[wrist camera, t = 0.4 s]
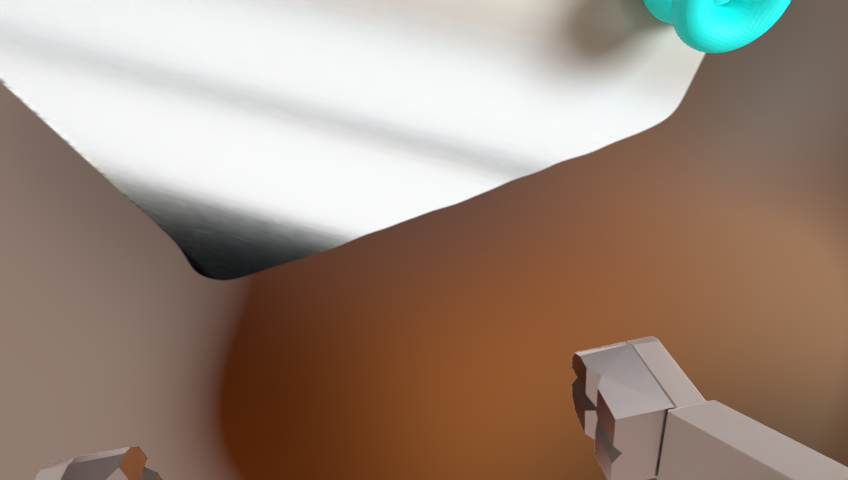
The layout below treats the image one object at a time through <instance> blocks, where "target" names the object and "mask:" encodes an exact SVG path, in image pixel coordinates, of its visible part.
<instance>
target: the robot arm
mask: <svg viewBox="0 0 848 480" xmlns="http://www.w3.org/2000/svg"><path fill="white" fill-rule="evenodd" d="M572 368H573V370H574V372H575V374H576V376H577V379H576V380H575V381H574V382H573V384H572V397H573V402H574V407H575V411H576V414H577V417H578V419H579V422H580V424H581V426H582V428H583V431H584V433H585V434H586V435H588V436H590V437H591V438H593V439H594V440H595V456H596V458H597V460H598V462H599V464H600V466H601V468H602V470H603V472H604V474H605V476H606V478H607V480H647V479H651V478H657V480H848V467H846V466H844V465H842V464H840V463H838V462H836V461H834V460H832V459H830V458H828V457H826V456H824V455H822V454H820V453H818V452H816V451H814V450H812V449H810V448H808V447H806V446H804V445H802V444H800V443H798V442H796V441H794V440H792V439H791V438H789V437H787V436H785V435H783V434H780V433H779V432H777V431H775V430H773V429H771V428H769V427H767V426H765V425H763V424H761V423H759V422H757V421H755V420H753V419H751V418H749V417H747V416H745V415H743V414H741V413H739V412H737V411H735V410H733V409H731V408H729V407H727V406H725V405H723V404H721V403H719V402H717V401H716V400H712V401H706V400H705V399H704V398H703V397H702V395H701V394H700V393H699V391H698V390H697V389H696V388H695V386H694V385H693V384H692V383H691V381H690V380H689V379H688V377H687V376H686V375H685V373H684V372H683V371H682V370H681V368H680V367H679V366H678V365H677V363H676V362H675V361H674V359H673V358H672V357H671V356H670V354H669V353H668V352H667V350H666V349H665V348H664V347H663V345H662V344H661V343H660V341H659V340H658V339H657V338H655V337H653V336H649V337H645V338H640V339H635V340H631V341H627V342H621V343H616V344H612V345H608V346H603V347H598V348H594V349H589V350H585V351H580V352H576V353H574V355H573V358H572ZM147 458H148V457H147V456H146V455H145V453H144V452H143V451H142V449H141V448H140V447H139V446H137V447H128V448H122V449H117V450H111V451H106V452H101V453H95V454H90V455H84V456H78V457H76V458H70V459H65V460H59V461H54V462H49V463H48V464H47V465H45V466H44V467H43V468H42V469H41V470H40V471H39V472H38V474H37V476H36V478H35V480H163V479H162V478H161V476H160V475H159V473H158V472H156V471H154V470H151V469H149V468H146V467H145V464H146V461H147Z"/></svg>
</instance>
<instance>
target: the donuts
mask: <svg viewBox="0 0 848 480" xmlns="http://www.w3.org/2000/svg"><path fill="white" fill-rule="evenodd" d="M643 1H644V4H645V6H646V8H647V9H648V10H649V12H650V13H651V14H652V15H653V16H654V17H656V18H657V19H658V20H660V21H662V22H665V23H668V24H673V26H674V28H675V31H676V33H677V34H678V36H679V37H680V39H681V40H682V41H683V42H684V43H685V44H687V45H688V46H689V47H691V48H693V49H695V50H698V51H702V52H707V53H720V52H726V51H731V50H734V49H737V48H740V47H742V46H744V45H746V44H748V43H750V42H752V41H753V40H755V39H756V38H758V37H759V36H761V35H762V34H763V33H765V32H766V31H767V30H768V29H769V28H770V27H771V26H772V25H773V24H774V23H775V22H776V21H777V20H778V19H779V17H780V16H781V15H782V14H783V12H784V11H785V9H786V8H787V6H788V4H789V3H790V1H791V0H643Z"/></svg>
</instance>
